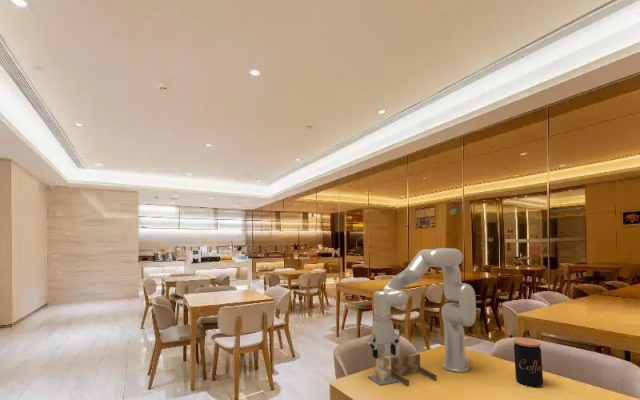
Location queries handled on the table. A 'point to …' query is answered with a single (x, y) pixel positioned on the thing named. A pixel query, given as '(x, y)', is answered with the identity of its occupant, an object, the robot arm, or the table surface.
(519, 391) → the table surface
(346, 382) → the table surface
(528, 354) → the coffee jar
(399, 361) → the wooden arch bench
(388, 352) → the milk carton
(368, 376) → the coaster
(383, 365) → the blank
